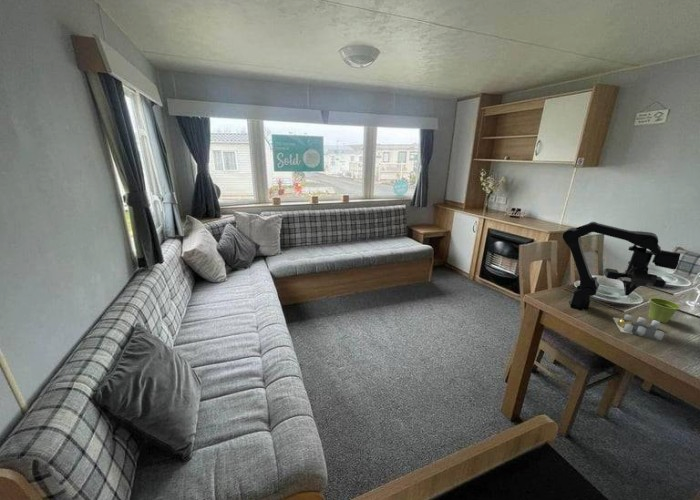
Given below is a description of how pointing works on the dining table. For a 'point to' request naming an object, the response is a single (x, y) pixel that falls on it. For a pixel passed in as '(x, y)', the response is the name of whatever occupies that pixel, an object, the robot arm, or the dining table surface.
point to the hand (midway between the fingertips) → (626, 295)
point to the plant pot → (662, 309)
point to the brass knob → (623, 322)
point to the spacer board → (642, 328)
